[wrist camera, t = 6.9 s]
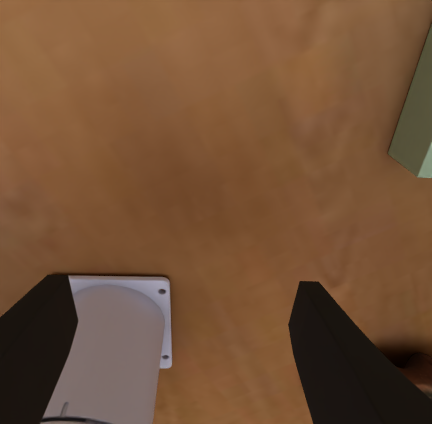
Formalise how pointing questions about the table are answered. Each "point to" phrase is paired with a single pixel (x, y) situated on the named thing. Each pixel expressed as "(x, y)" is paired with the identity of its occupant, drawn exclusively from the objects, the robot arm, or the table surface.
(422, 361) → the decorative turtle
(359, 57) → the table surface
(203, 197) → the table surface
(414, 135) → the dial panel
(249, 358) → the table surface
